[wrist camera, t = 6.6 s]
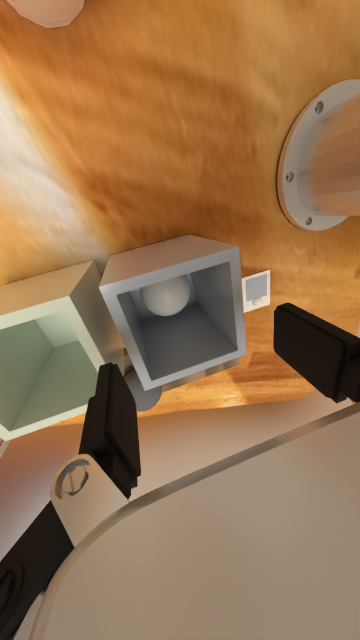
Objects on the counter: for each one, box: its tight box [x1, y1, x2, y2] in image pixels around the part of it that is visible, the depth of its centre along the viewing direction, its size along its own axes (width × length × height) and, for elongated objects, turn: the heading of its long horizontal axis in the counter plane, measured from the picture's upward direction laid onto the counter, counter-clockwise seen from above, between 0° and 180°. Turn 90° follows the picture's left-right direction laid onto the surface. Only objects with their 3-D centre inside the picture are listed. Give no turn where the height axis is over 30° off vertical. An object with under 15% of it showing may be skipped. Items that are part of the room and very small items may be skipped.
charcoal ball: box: [124, 370, 162, 411], centre depth 24 cm, size 5×5×5 cm
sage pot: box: [0, 260, 124, 441], centre depth 17 cm, size 8×8×11 cm
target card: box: [242, 270, 270, 313], centre depth 26 cm, size 8×5×1 cm, turn 102°
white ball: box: [140, 275, 190, 316], centre depth 20 cm, size 5×5×5 cm
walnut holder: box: [124, 348, 240, 392], centre depth 27 cm, size 18×8×2 cm, turn 103°
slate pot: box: [99, 234, 247, 391], centre depth 18 cm, size 8×8×11 cm
